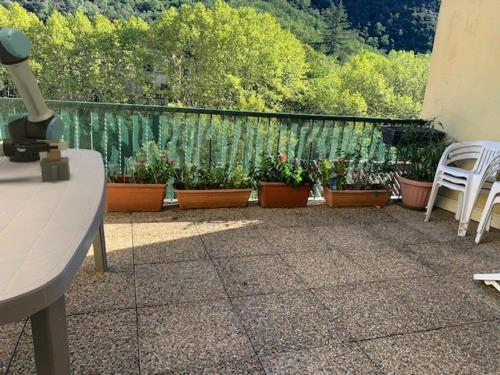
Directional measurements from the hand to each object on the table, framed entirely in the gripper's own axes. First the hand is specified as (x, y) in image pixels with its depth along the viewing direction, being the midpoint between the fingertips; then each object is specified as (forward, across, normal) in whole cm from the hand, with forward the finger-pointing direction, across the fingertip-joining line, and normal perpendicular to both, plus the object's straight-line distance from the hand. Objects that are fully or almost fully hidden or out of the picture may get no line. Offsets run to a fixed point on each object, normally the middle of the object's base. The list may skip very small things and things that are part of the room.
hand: (67, 145), depth 165 cm
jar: (-8, -16, -14) cm, 23 cm away
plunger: (-5, 0, -13) cm, 14 cm away
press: (-5, +1, -14) cm, 15 cm away
